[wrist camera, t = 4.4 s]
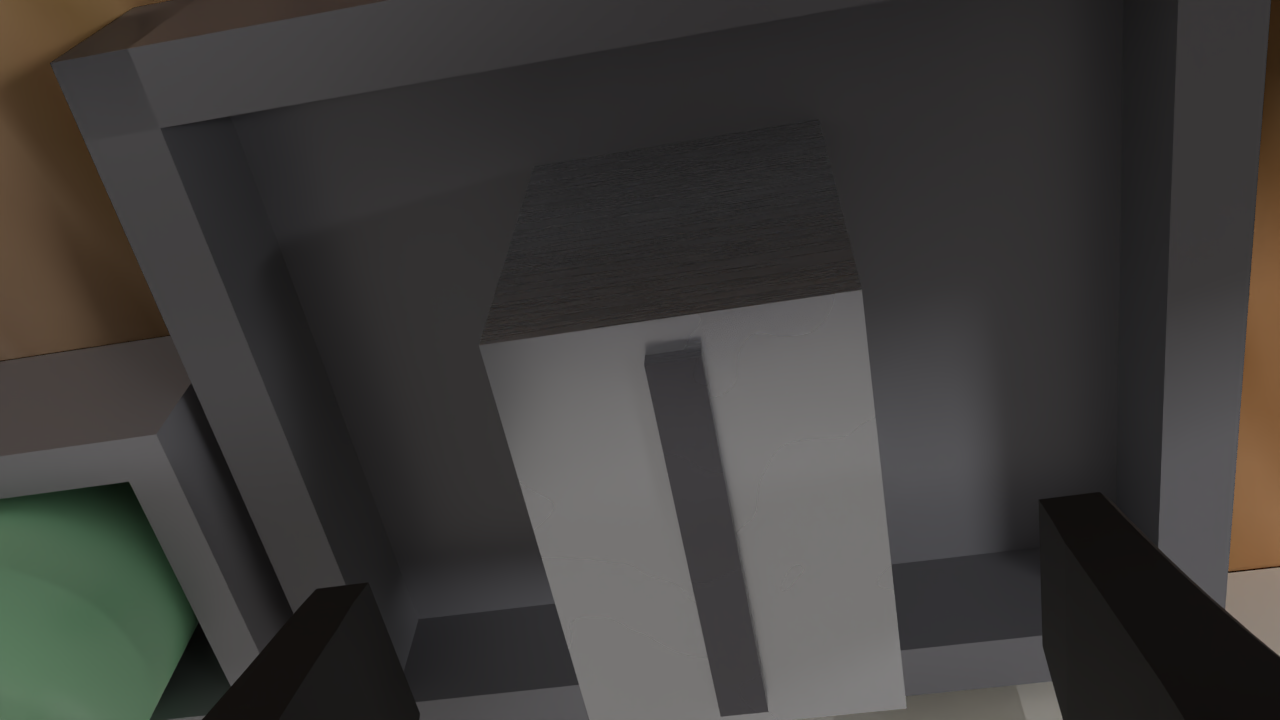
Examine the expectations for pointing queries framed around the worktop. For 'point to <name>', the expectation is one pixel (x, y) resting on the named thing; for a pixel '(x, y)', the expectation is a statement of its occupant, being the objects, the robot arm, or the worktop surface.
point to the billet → (700, 430)
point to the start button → (86, 607)
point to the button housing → (150, 492)
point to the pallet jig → (1030, 712)
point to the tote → (664, 114)
